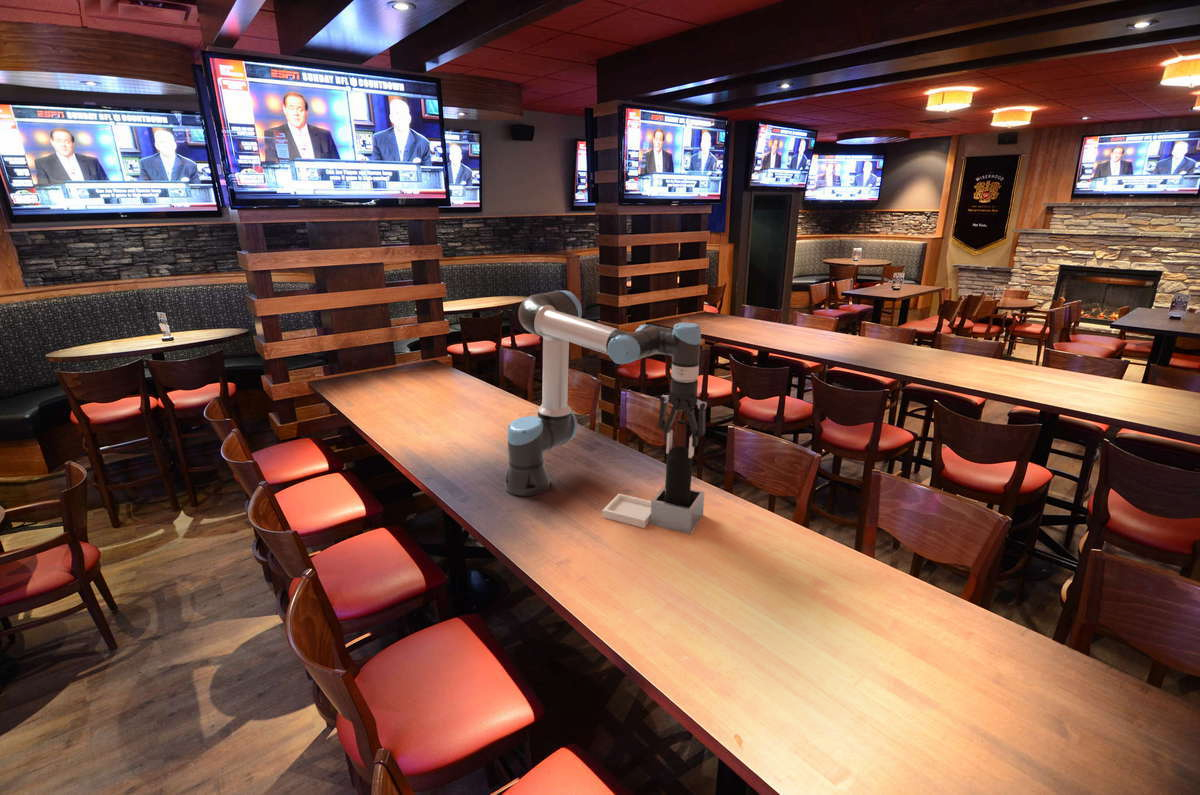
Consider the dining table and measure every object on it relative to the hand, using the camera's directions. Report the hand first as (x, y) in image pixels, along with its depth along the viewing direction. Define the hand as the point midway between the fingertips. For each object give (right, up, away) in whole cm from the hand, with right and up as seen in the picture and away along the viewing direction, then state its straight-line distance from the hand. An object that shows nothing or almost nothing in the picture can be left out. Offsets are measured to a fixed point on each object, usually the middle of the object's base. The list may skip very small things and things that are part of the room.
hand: (679, 453), depth 169 cm
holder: (0, -21, +7) cm, 22 cm away
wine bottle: (0, -19, +7) cm, 20 cm away
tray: (-14, -20, +10) cm, 26 cm away
